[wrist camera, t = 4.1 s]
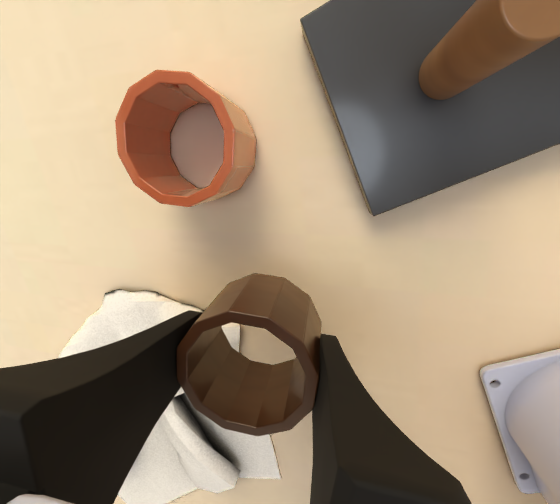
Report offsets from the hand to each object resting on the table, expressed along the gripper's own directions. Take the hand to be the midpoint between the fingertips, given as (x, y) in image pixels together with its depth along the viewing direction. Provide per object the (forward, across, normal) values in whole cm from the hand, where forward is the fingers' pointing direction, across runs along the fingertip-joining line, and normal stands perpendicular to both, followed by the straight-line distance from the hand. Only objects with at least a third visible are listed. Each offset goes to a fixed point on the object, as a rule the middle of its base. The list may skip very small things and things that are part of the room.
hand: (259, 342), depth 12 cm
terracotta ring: (+5, +5, -8) cm, 10 cm away
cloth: (+5, +9, +12) cm, 16 cm away
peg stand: (+5, -6, -12) cm, 14 cm away
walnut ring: (+1, 0, 0) cm, 1 cm away
